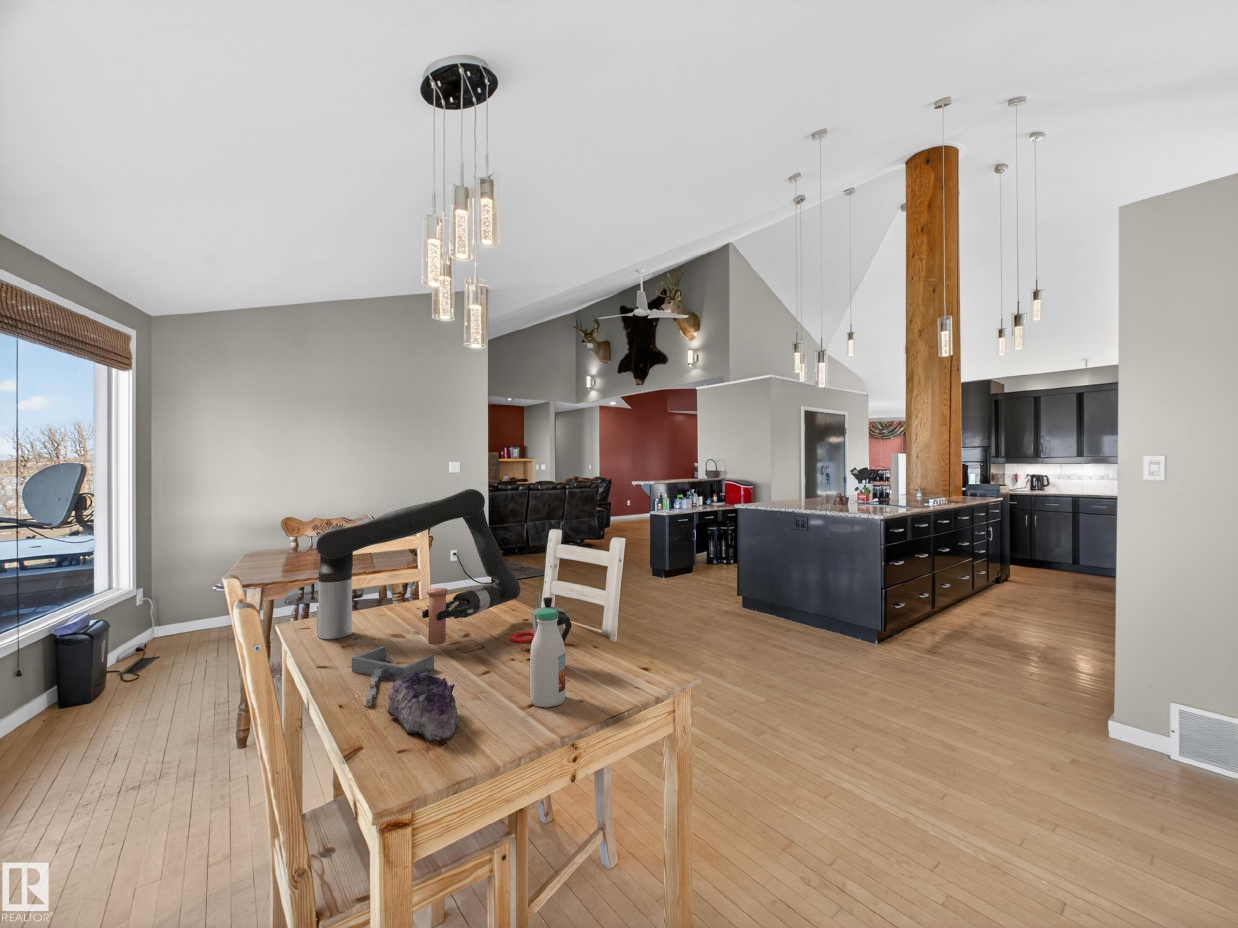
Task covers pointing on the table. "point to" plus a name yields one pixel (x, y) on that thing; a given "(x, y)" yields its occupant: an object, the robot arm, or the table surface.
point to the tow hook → (521, 640)
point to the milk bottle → (547, 662)
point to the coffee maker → (561, 620)
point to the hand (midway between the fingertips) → (430, 615)
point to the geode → (424, 706)
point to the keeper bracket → (388, 665)
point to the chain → (371, 690)
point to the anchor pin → (435, 605)
